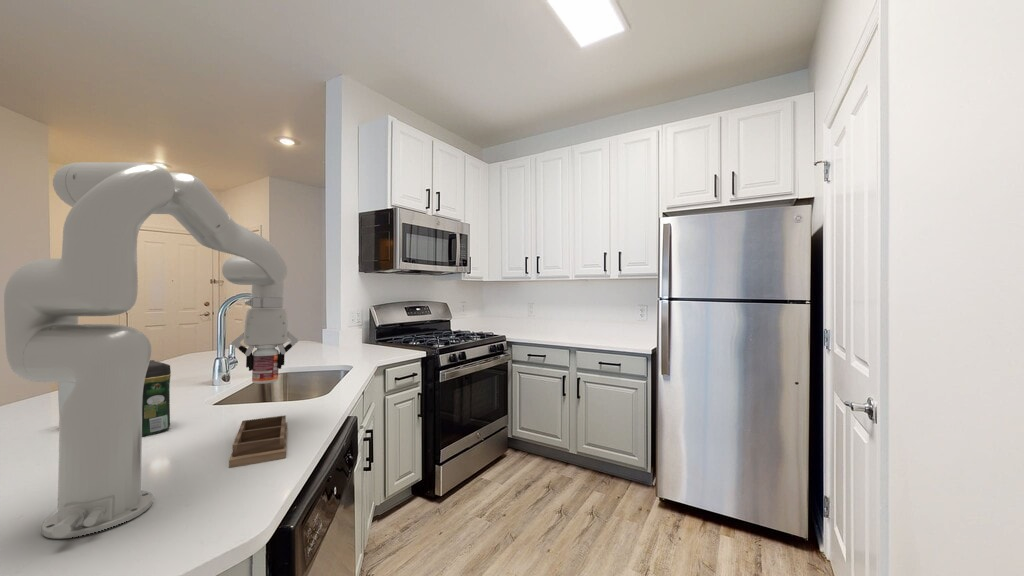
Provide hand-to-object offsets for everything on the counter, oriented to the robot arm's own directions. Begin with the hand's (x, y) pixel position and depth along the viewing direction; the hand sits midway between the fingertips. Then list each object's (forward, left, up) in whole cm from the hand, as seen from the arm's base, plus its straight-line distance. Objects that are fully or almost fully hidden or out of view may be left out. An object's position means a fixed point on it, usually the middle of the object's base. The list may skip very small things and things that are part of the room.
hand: (265, 368), depth 109 cm
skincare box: (+22, +43, -16) cm, 50 cm away
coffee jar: (+9, +27, -16) cm, 33 cm away
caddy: (-15, 0, -16) cm, 22 cm away
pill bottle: (0, 0, -4) cm, 4 cm away
